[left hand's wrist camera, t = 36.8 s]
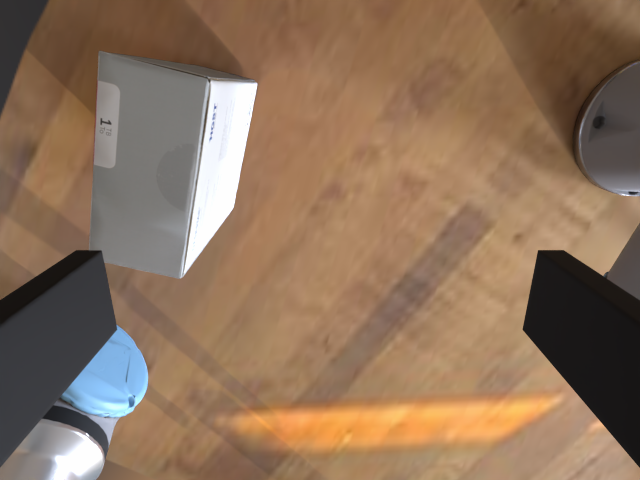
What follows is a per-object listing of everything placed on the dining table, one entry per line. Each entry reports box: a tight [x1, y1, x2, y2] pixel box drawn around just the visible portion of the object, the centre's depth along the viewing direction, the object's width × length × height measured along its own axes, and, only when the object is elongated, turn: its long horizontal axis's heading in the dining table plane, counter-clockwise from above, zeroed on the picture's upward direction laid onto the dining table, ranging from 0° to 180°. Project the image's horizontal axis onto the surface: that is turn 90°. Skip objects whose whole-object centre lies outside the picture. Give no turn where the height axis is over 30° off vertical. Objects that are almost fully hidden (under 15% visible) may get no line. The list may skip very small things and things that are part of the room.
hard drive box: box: [89, 51, 257, 279], centre depth 38 cm, size 16×8×20 cm, turn 166°
